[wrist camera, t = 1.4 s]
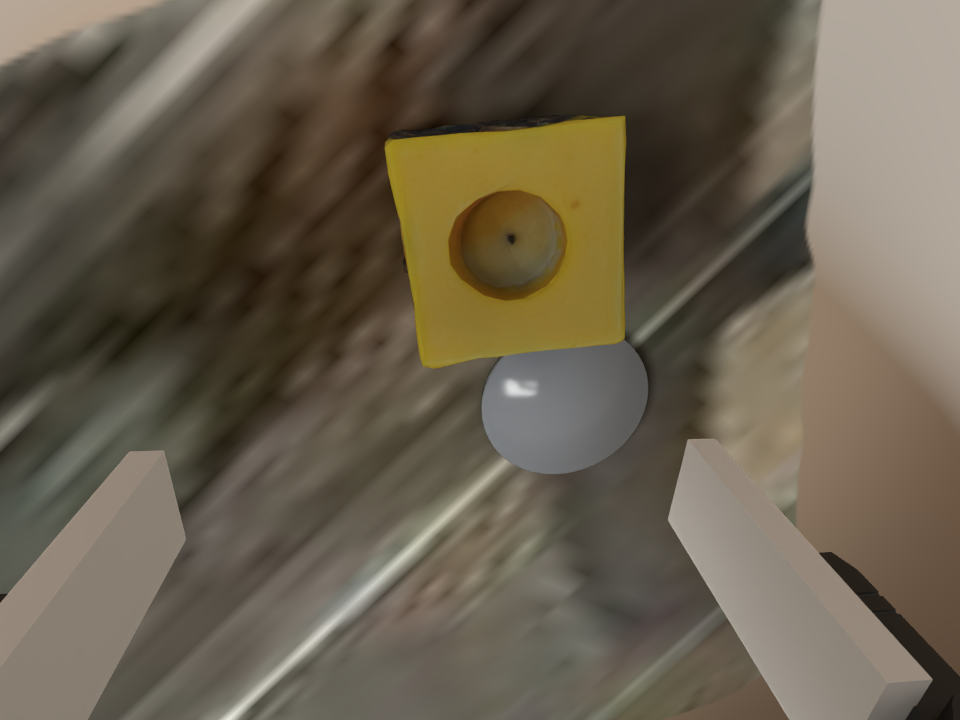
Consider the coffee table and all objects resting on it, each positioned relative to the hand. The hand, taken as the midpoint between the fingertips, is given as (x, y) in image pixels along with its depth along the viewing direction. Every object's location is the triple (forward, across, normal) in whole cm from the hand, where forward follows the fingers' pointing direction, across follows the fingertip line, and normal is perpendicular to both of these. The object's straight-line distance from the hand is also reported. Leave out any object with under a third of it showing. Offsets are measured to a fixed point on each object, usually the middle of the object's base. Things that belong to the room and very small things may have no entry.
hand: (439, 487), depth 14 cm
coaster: (+21, +10, -9) cm, 25 cm away
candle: (+21, +3, +3) cm, 22 cm away
